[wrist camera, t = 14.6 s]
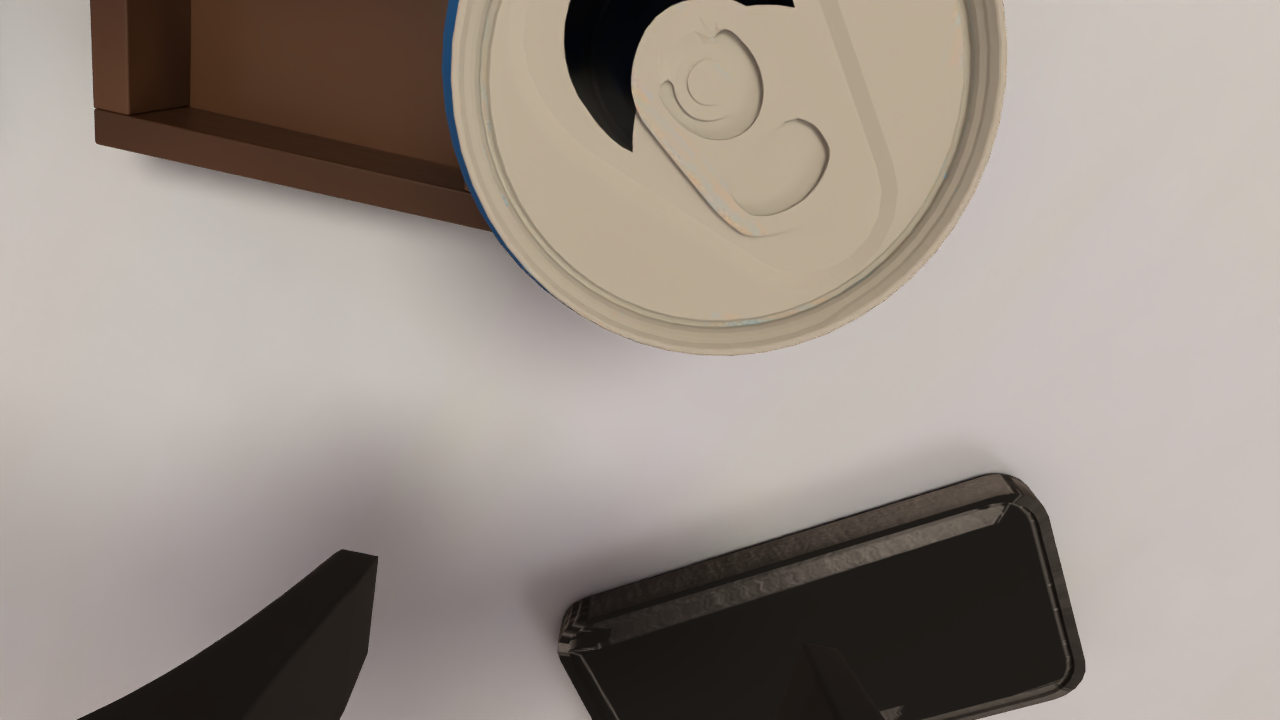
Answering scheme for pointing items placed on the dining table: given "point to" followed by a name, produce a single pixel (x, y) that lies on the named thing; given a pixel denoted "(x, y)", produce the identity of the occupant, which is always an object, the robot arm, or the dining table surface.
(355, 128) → the brown wooden divided tray
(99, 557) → the dining table surface
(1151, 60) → the dining table surface
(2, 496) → the dining table surface
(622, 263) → the beverage can
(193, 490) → the dining table surface
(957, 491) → the phone
